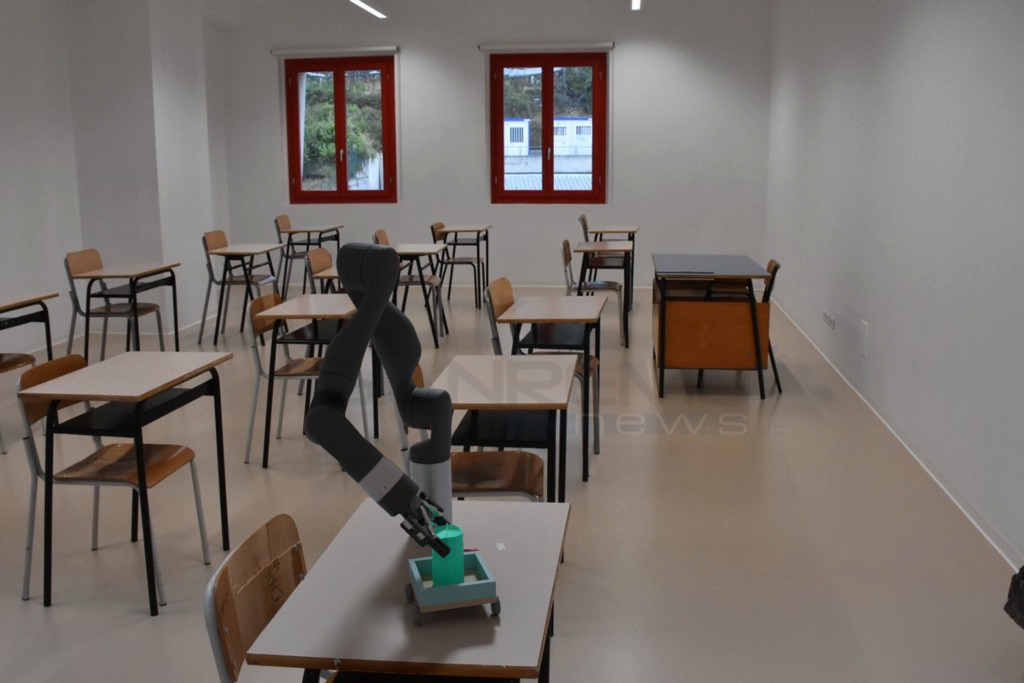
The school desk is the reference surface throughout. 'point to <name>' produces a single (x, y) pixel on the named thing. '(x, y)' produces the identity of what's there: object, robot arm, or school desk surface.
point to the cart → (451, 587)
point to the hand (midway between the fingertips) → (451, 544)
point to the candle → (449, 557)
